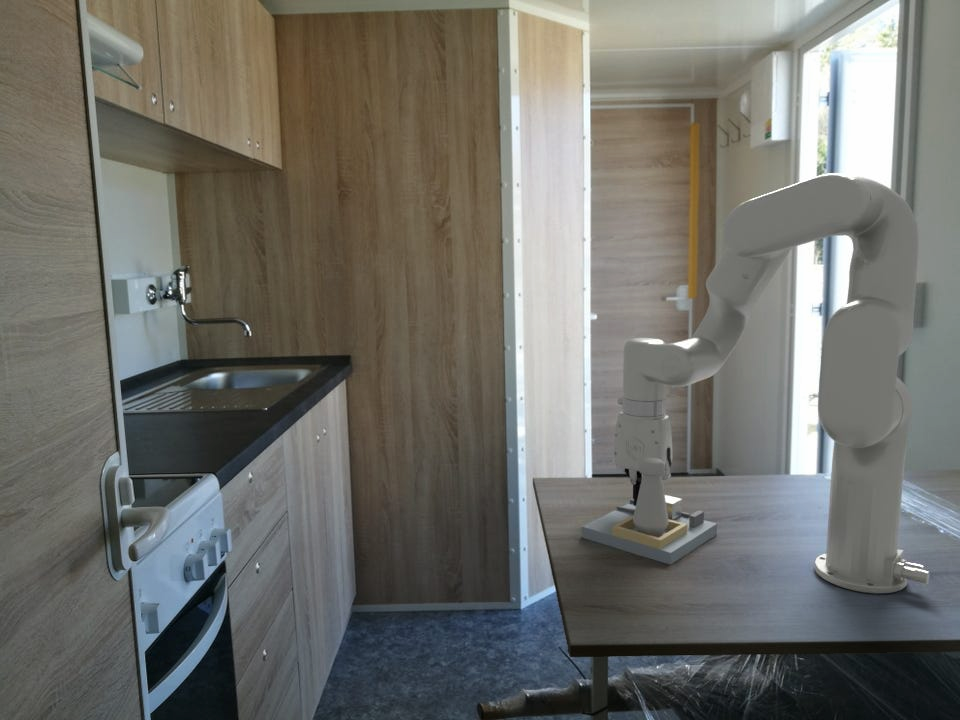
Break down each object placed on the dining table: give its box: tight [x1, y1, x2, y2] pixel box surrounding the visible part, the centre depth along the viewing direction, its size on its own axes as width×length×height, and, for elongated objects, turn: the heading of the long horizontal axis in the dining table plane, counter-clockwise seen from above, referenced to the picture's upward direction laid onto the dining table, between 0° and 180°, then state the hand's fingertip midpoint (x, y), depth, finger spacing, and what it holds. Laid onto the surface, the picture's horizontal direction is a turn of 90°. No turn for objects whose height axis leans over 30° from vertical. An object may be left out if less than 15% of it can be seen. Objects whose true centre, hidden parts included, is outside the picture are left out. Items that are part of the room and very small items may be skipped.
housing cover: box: [664, 494, 683, 520], centre depth 133 cm, size 5×3×3 cm
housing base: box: [581, 498, 718, 565], centre depth 130 cm, size 17×16×4 cm
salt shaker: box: [633, 458, 669, 538], centre depth 125 cm, size 6×6×13 cm
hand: (642, 504), depth 137 cm, fingers closed
